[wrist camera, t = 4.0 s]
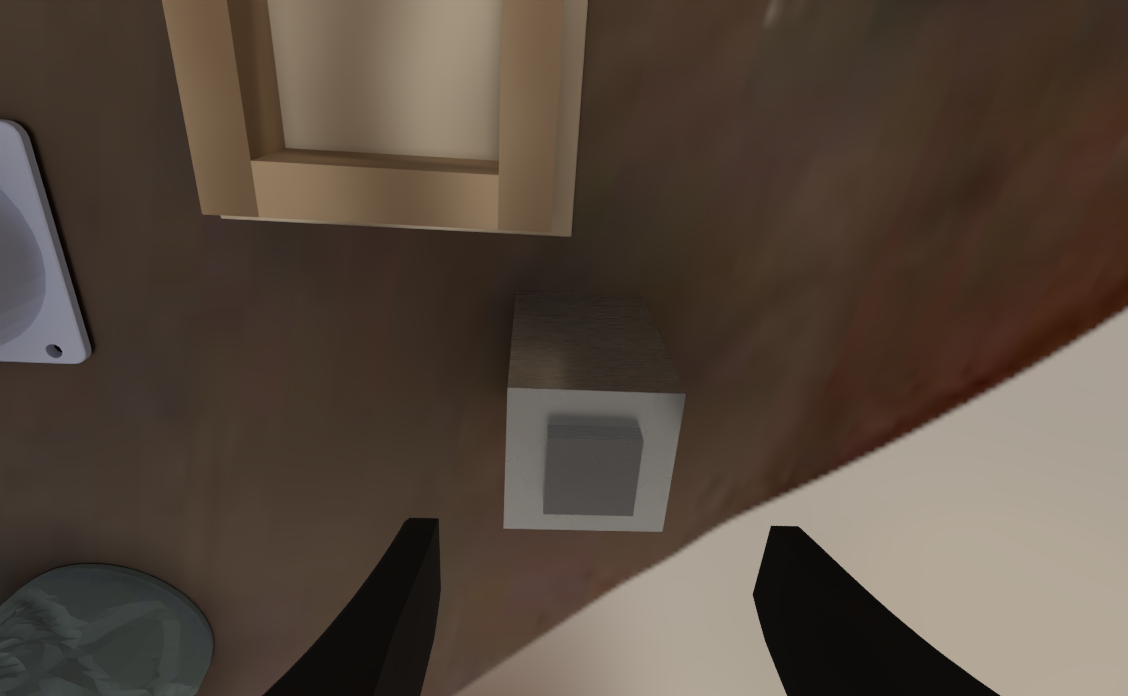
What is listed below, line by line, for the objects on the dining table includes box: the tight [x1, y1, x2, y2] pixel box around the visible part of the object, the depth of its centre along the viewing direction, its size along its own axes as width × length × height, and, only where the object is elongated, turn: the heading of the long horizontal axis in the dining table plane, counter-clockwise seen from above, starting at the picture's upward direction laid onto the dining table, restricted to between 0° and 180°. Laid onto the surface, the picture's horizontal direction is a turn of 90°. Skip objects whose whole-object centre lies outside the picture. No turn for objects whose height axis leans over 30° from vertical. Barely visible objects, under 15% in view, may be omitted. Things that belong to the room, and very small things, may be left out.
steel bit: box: [504, 291, 686, 532], centre depth 19 cm, size 4×4×8 cm
